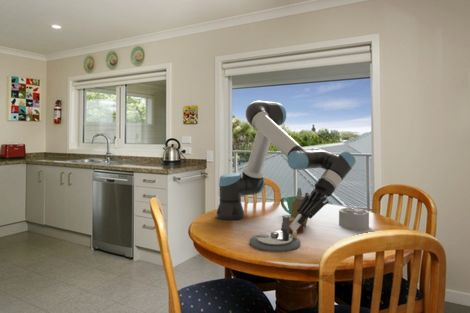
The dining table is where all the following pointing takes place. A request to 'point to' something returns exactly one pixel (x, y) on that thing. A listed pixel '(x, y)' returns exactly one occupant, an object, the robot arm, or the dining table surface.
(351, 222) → the lumpy-topped squat cylinder
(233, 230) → the dining table surface
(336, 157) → the robot arm
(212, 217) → the dining table surface
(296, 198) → the squeeze bottle
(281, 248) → the base pad
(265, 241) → the flange plate
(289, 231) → the bread roll
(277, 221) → the dining table surface
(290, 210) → the mug
